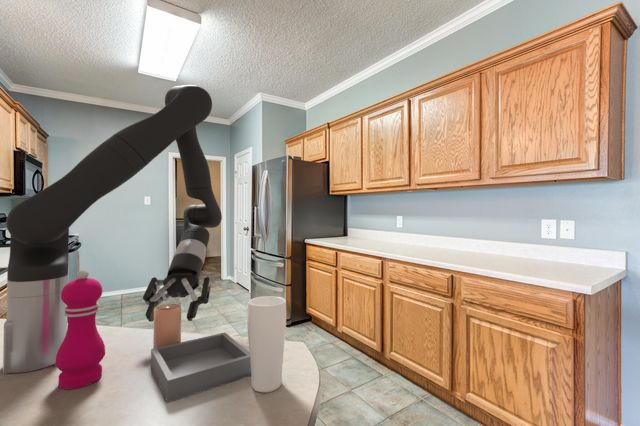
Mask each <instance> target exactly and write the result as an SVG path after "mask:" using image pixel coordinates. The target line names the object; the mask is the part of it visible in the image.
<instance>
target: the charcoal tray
mask: <svg viewBox="0 0 640 426" xmlns="http://www.w3.org/2000/svg"><path fill="white" fill-rule="evenodd" d="M150 368H151V370H152V373H153V374H154V376H155V379H156V382H158V385H159V387H160V390H161V392H162V393H163V396H164V398H165V400H166V402H167V403H171V402H174V401H178V400H180V399H183V398H186V397H189V396H192V395H195V394H198V393H201V392H205V391H208V390H211V389H214V388H216V387H219V386H222V385H225V384H228V383H232V382H235V381H238V380H241V379H244V378H247V377H251V366H250V352H249V349H247V348H245V347H244V346H243V345H242V344H240V343H239V342H238V341H236V340H235V339H234V338H233V337H231V336H230V335H229V334H227V333H226V332H221V333H217V334H211V335H208V336H203V337H199V338H194V339H190V340H186V341H181V342H180V343H176V344H172V345H167V346H163V347H158V348H154V349H153V348H151V349H150Z"/></svg>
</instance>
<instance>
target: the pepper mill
mask: <svg viewBox="0 0 640 426" xmlns="http://www.w3.org/2000/svg"><path fill="white" fill-rule="evenodd" d="M76 278H77V279H73V280H71V281H68V283H67V284H66V285H65V286H64V288H63V289H62V292H61V299H62V301H63V302H64V303H65V304H66V305H67V307H65V309H64V310H65V314H64V315H65V316H67V333H66V336H65V338H64V340H63V342H62V344H61V346H60V348H59V350H58V352H57V355H56V361H55V364H54V366H55V367H56V368H57V369H58V371H60V374H59V375H58V384H57V385H58V387H59V388H60V389H63V390H73V389H79V388H83V387H86V386H89V385H92V384H93V383H95V382H97V381H98V380H99V379H101V377H102V375H103V365H102V364H101V361H102V360H103V359H104V357H105V355H106V344H105V343H104V340H103V338H102V337H101V335H100V333H99V331H98V328H97V325H96V323H97V322H96V315H97V313H98V312H99V310H100V308H99V306H100V304H99V302H98V301H99V299H101V297H102V295H103V286H102V284H101V282H100V281H99V280H97V279H94V278H91V277H89V271H87V270H86V269H81V270H79V271H77V273H76Z"/></svg>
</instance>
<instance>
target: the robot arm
mask: <svg viewBox="0 0 640 426" xmlns="http://www.w3.org/2000/svg"><path fill="white" fill-rule="evenodd" d="M212 100H213V99H212V98H211V95H210V93H209V92H208V91H207V90H206V89H204V88H203V87H201V86H198V85H193V84H185V85H176V86H172V87H171V88H169V90H167V92H166V94H165V97H164V105H165V106H164V107H163V108H161V109H160V110H158V111H157V112H155V113H154V114H152V115H150V116H148V117H146V118H144V119H140V120H139V121H136V122H134V123H133V124H130V125H128V126H126V127H124V128H122V129H120V130H119V131H117V132H115V133H114V134H113V135H112V136H110V137H108V138H107V139H106V140H105V141H103V142H102V143H101V144H99V145H98V146H97V147H95V148H94V149H93V150H92V151H90V152H89V153H88V154H87V155H86V156H85V157H84V158H82V160H80V161H79V162H78V163H77V164H76V165H75V166H74V167H73V168H72V169H70V171H69V172H67V173H66V174H65V175H64V176H61V178H60V179H58V180H57V181H55V182H54V183H52V184H50V185H49V186H47V187H44V189H42V190H41V191H38V192H37V193H35V194H34V195H32V196H30V197H28V198H26V199H24V200H23V201H20V202H19V203H17V204H16V205H15V206H13V207H12V208H11V210H10V211H9V212H8V214H7V217H6V223H5V224H6V229H7V231H8V233H9V235H10V241H9V242H10V243H9V257H8V259H9V260H8V263H7V269H6V270H7V271H6V272H7V276H6V277H7V278H6V279H7V283H6V320H5V321H4V322H3V342H2V343H3V346H2V347H3V350H2V351H3V353H2V356H3V357H2V374H3V375H5V374H11V373H25V372H26V373H27V372H33V371H37V370H41V369H44V368H48V367H50V366H53V365H55V361H56V355H57V352H58V350H59V348H60V346H61V344H62V342H63V340H64V338H65V336H66V333H67V327H68V319H67V316H65V315H64V314H65V310H64V309H65V307H67V305H66V304H65V303H64V302H63V301H62V299H61V292H62V289H63V288H64V286H65V285H66V284H67V283H69V261H70V260H69V258H70V257H69V256H70V255H69V242H70V241H69V240H70V227H71V226H73V224H74V223H75V222H76V221H77V220H78V219H79V218H80V217H81V216H82V215H83V214H84V213H85V212H86V211H87V210H88V209H89V208H90V207H91V206H93V204H95V203H96V202H97V201H99V200H101V198H103V197H104V196H106V195H108V194H109V193H111V192H113V191H114V190H116V189H117V188H119V187H121V186H122V185H124V184H125V183H126V182H128V181H129V180H131V179H132V178H133V177H134V176H136V175H137V174H138V173H140V172H141V171H142V170H143V169H144V168H145V167H147V166H148V164H149V165H150V163H151V162H152V161H153V160H154V159H155V158H157V157H158V156H159V155H160V154H162V152H163V151H165V150H166V149H167V148H169V146H171V144H172V143H173V142H176V145H177V149H178V152H179V156H180V162H181V166H182V167H181V168H182V173H183V180H184V186H185V193H186V195H187V196H188V198H191V199H195V200H199V201H201V202H202V203H203V204H190V205H188V206H187V207H186V208H185V209H184V211H183V232H182V235H181V238H180V241H179V243H178V246H176V249H175V251H174V254H173V256H172V259H171V262H170V265H169V267H168V271H167V274H166V276H165V278H164V279H157V277H156V276H155V277H152V278H151V279H150V282H149V283H148V286H147V288H146V290H145V292H144V294H143V296H142V300H143V301H144V303H145V304H146V305H148V306H147V309H146V311H145V317H146V319H147V320H148V322H154V308H155V307H157V306H160V305H162V303H163V302H166V301H167V300H169V299H170V298H171V299H172V298H175V299H176V298H186V297H189V298H190V300H191V301H190V303H189V306H188V309H187V314H186V319H187V321H188V322H192V321H193V319H196V316H197V313H198V309H199V306H200V305H202V304H203V305H207V304H208V303H209V299H210V293H211V288H212V283H211V279H210V277H209V276H205V277H204V278H203V279H202V278H201V274H202V270H203V266H204V264H205V261H206V260H205V259H206V255H207V253H206V252H207V248H208V245H209V242H210V235H211V234H210V232H209V230H208V229H211V228H212V229H213V228H217V227H218V226H219V225H221V222H222V218H223V216H222V212H221V208H220V206H219V204H218V202H217V199H216V196H215V194H214V191H213V186H212V179H211V178H212V177H211V171H210V167H209V164H208V161H207V159H206V155H205V154H204V151H203V149H202V147H201V144H200V142H199V138H198V134H197V126H199V124H201V123H202V122H204V121H205V120H206V119H207V118H208V117H209V116H210V114H211V113H212V109H213V101H212ZM200 278H201V279H200ZM199 286H200V287H201V289H202V290H201V295H200V296H197V294H196V292H195V290H196V289H197V288H198V287H199Z"/></svg>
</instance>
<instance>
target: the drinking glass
mask: <svg viewBox="0 0 640 426" xmlns="http://www.w3.org/2000/svg"><path fill="white" fill-rule="evenodd" d="M286 301H287V300H286V299H285V298H284V297H280V296H275V295H273V296H272V295H270V296H269V295H265V296H264V295H263V296H256V297H254V298H251V299H249V300H248V302H247V335H248V336H247V338H248V351H249V352H250V366H251V375H250V386H251V388H252V389H253V390H254V391H256V392H257V393H258V392H259V393H266V394H267V393H271V392H274V391H277V389H279V388H280V387H281V385H282V383H283V377H282V376H283V373H282V372H283V362H284V361H283V360H284V352H285V351H284V349H285V339H286V330H287V302H286Z"/></svg>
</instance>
